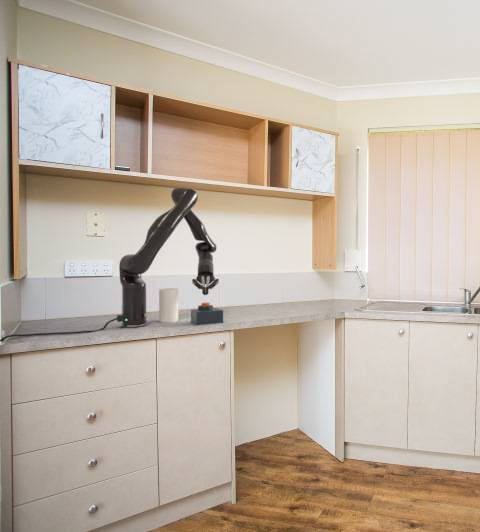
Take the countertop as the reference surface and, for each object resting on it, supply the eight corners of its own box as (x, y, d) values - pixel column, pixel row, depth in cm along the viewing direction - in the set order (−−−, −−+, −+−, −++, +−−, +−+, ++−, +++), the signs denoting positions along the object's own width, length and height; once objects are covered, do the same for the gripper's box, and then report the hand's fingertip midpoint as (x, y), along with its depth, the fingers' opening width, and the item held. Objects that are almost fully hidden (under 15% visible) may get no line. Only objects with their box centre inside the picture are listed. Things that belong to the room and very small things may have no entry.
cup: (162, 319, 199) (162, 288, 198) (180, 319, 200) (180, 288, 200) (156, 322, 191) (156, 289, 190) (174, 322, 192) (174, 289, 192)
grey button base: (196, 325, 186) (196, 308, 185) (190, 321, 194) (190, 305, 194) (223, 322, 193) (223, 306, 193) (216, 319, 202) (216, 304, 202)
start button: (202, 307, 193) (202, 303, 193) (200, 306, 196) (200, 302, 196) (210, 306, 195) (210, 303, 195) (208, 305, 198) (208, 302, 198)
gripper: (191, 264, 204) (190, 289, 193) (219, 264, 209) (219, 289, 199) (191, 273, 209) (190, 299, 198) (219, 273, 214) (219, 298, 204)
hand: (205, 294), depth 198 cm, fingers closed
